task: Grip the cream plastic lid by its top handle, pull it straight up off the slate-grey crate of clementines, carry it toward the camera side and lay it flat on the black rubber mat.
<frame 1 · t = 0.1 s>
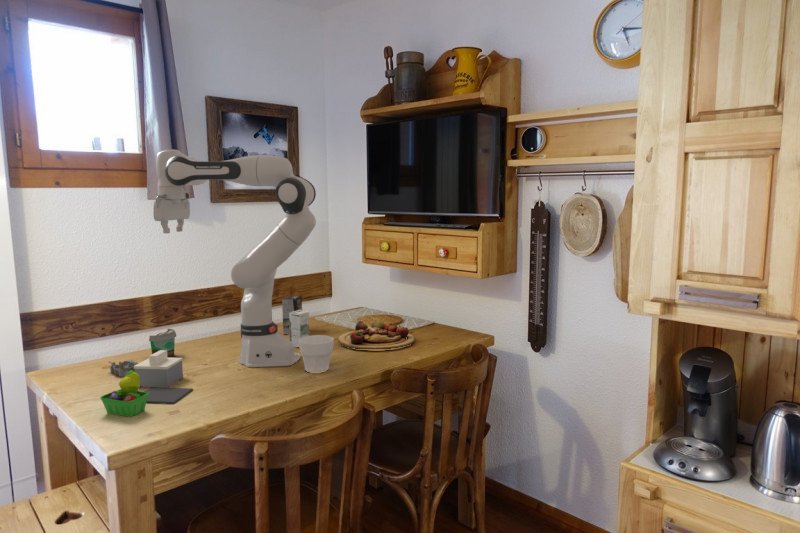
hand: (173, 232, 211), 48 cm above the table, tool pointing down, fingers open, 8 cm apart
crate: (159, 381, 190), on the table
mat: (162, 396, 176), on the table
syrup box: (300, 347, 232), on the table
fruit basket: (127, 412, 164), on the table
food container: (167, 358, 218), on the table
egg carton: (125, 373, 201), on the table
wooden plate with food: (376, 343, 239), on the table
cup: (317, 370, 201), on the table
coffee box: (293, 332, 256), on the table
lid: (158, 364, 189), point 6 cm above the table, touching crate
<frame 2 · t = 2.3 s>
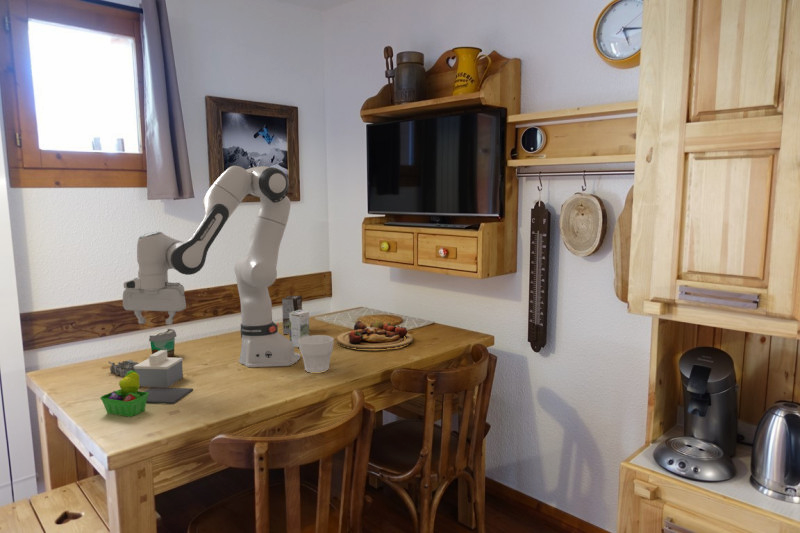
hand: (155, 323, 187), 20 cm above the table, tool pointing down, fingers open, 8 cm apart
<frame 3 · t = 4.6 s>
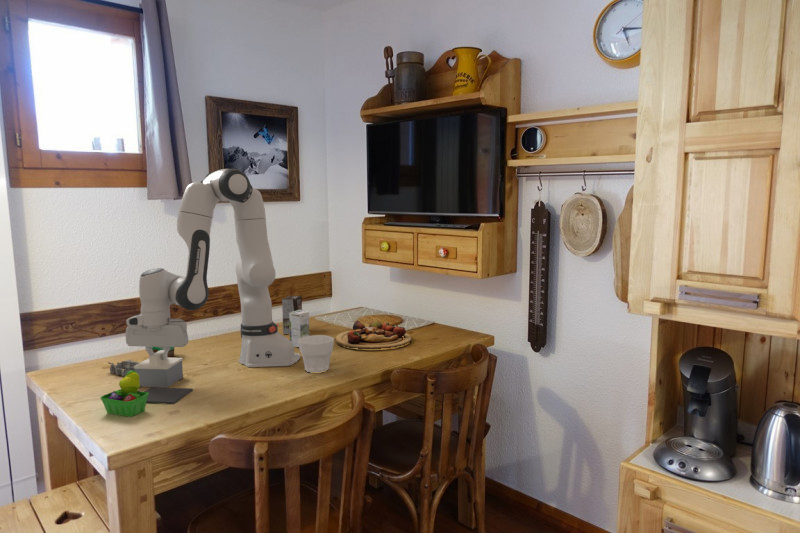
hand: (158, 359, 189), 8 cm above the table, tool pointing down, fingers closed on lid, 2 cm apart
lid: (158, 364, 189), point 6 cm above the table, touching crate, gripper
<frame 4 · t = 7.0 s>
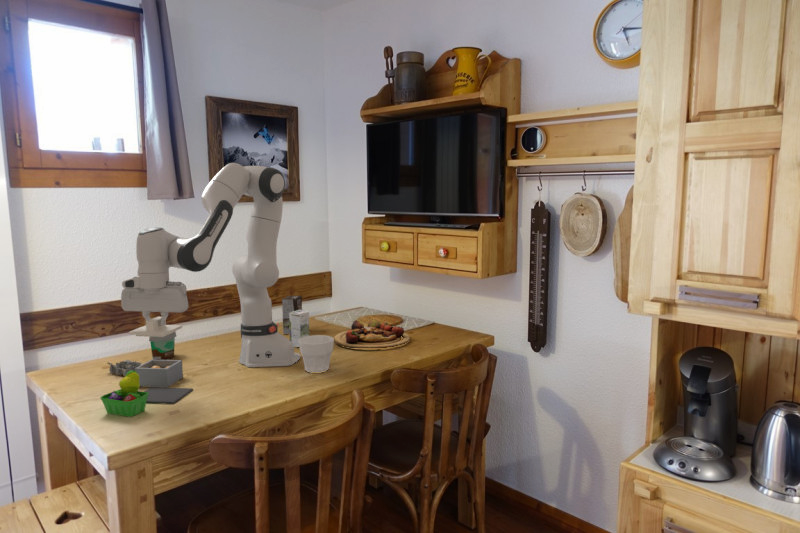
hand: (156, 325, 176), 22 cm above the table, tool pointing down, fingers closed on lid, 2 cm apart
lid: (156, 331, 176), point 20 cm above the table, touching gripper
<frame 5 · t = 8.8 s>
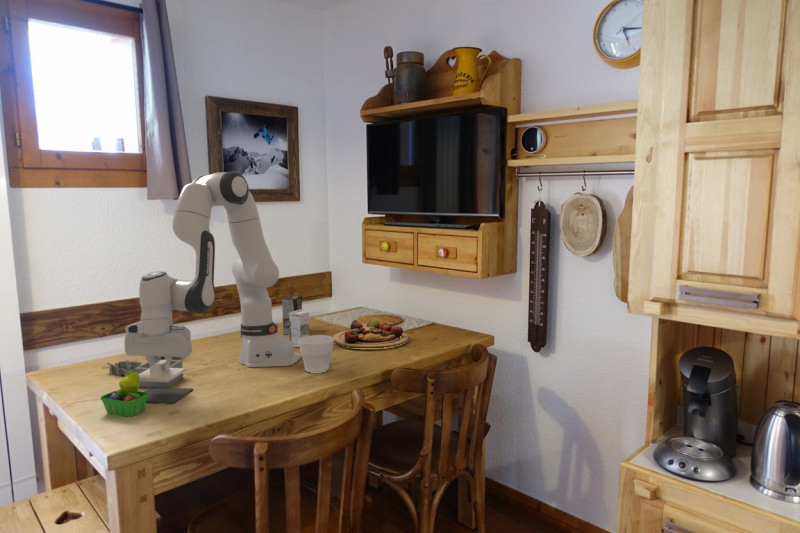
hand: (159, 369, 175), 8 cm above the table, tool pointing down, fingers closed on lid, 2 cm apart
lid: (160, 375, 175), point 7 cm above the table, touching gripper
when the fingers open (5 cm above the table, at t = 10.1 s): lid drops 1 cm, resting on mat.
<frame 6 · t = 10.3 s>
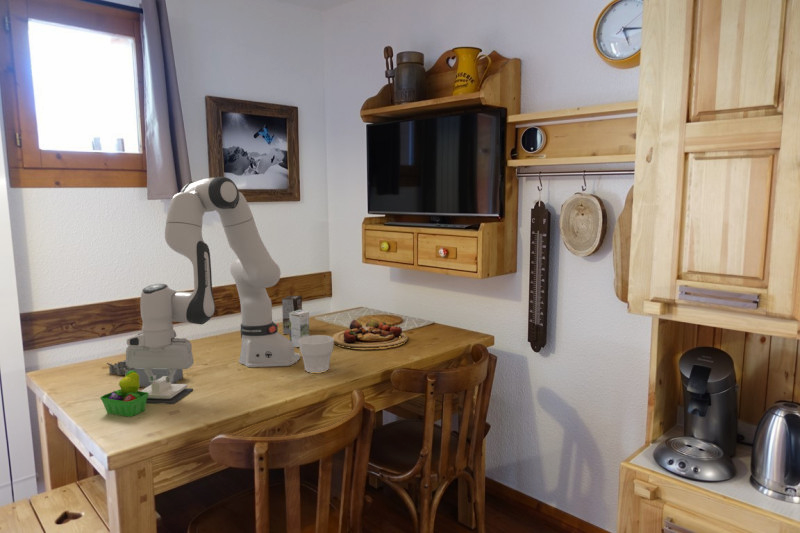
hand: (161, 381, 176), 5 cm above the table, tool pointing down, fingers open, 4 cm apart
lid: (161, 391, 176), point 1 cm above the table, touching mat
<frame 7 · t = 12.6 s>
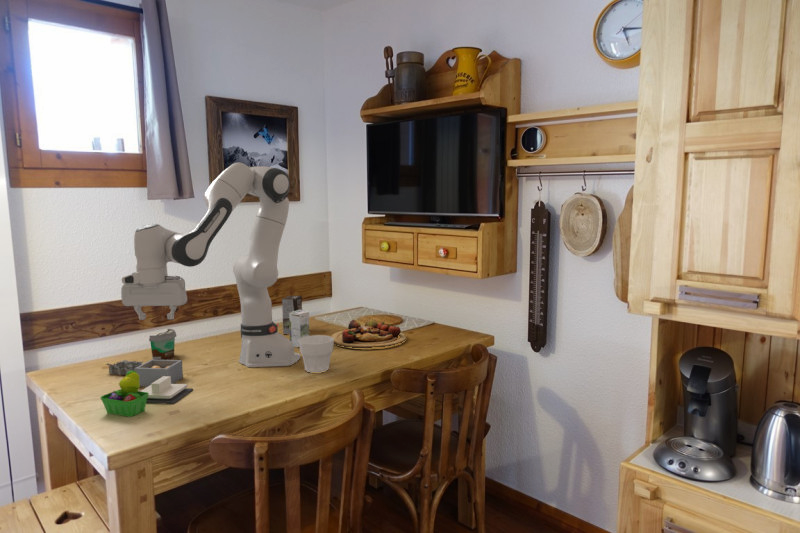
hand: (156, 319, 182), 22 cm above the table, tool pointing down, fingers open, 8 cm apart
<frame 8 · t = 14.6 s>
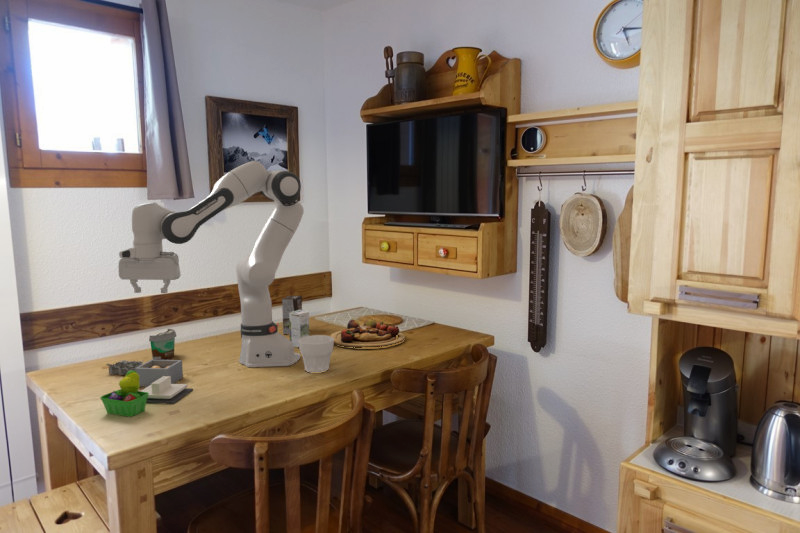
hand: (151, 292, 192), 29 cm above the table, tool pointing down, fingers open, 8 cm apart
at the end: lid inside the target area (0.0 cm from its centre), point 1.4 cm above the table; lid tilted 0°; the gripper is holding nothing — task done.
